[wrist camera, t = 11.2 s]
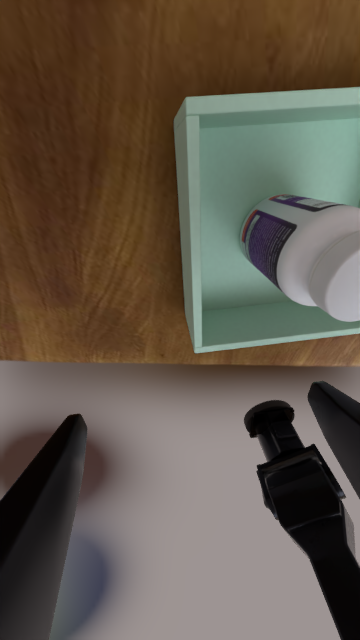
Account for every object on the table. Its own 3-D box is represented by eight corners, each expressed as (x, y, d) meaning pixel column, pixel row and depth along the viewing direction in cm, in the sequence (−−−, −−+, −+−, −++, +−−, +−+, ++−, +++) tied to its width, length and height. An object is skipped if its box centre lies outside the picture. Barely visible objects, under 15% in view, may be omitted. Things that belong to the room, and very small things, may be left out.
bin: (328, 298, 23) (373, 332, 18) (185, 314, 22) (194, 354, 18) (391, 105, 15) (498, 78, 11) (173, 119, 14) (185, 96, 10)
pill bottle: (259, 278, 20) (332, 352, 12) (224, 229, 18) (288, 281, 10) (317, 234, 19) (444, 286, 11) (288, 174, 16) (428, 182, 8)
